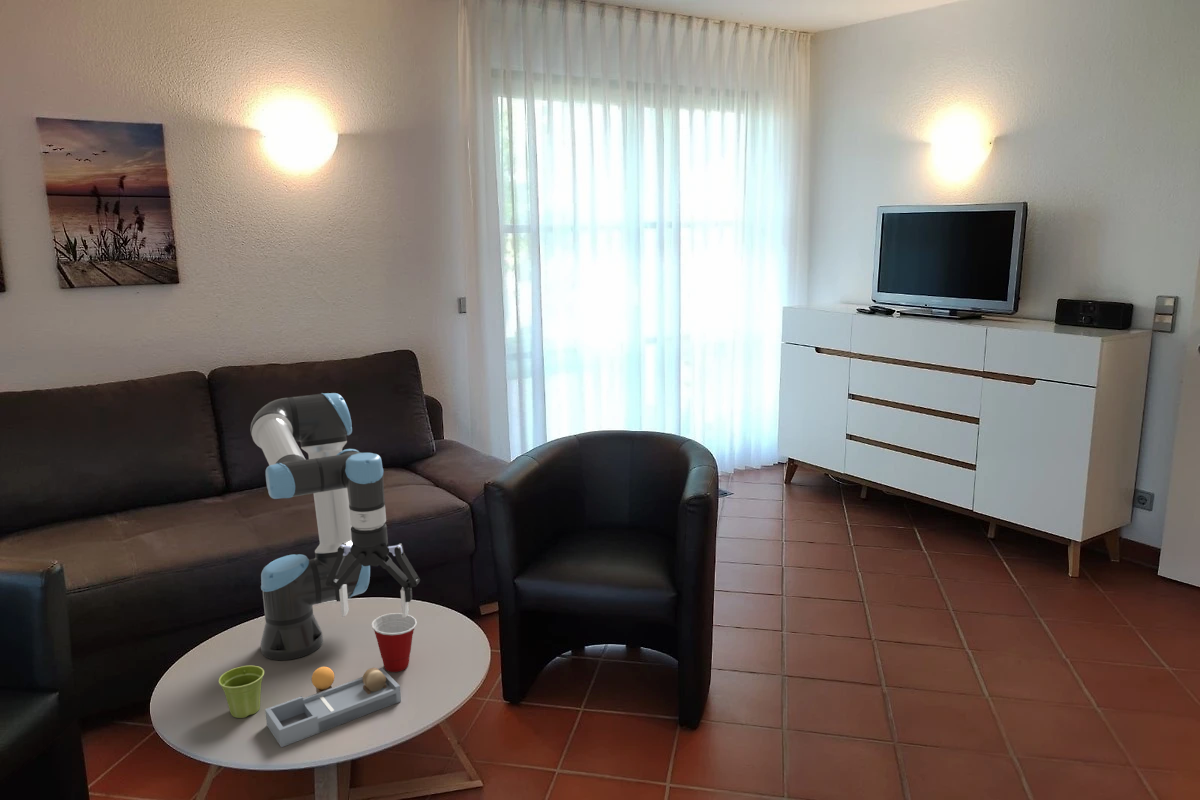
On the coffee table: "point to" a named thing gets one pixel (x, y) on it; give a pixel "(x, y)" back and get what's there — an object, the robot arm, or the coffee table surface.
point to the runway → (328, 709)
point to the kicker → (373, 680)
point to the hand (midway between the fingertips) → (375, 614)
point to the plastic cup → (394, 639)
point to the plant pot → (242, 689)
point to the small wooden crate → (322, 689)
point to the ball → (323, 677)
